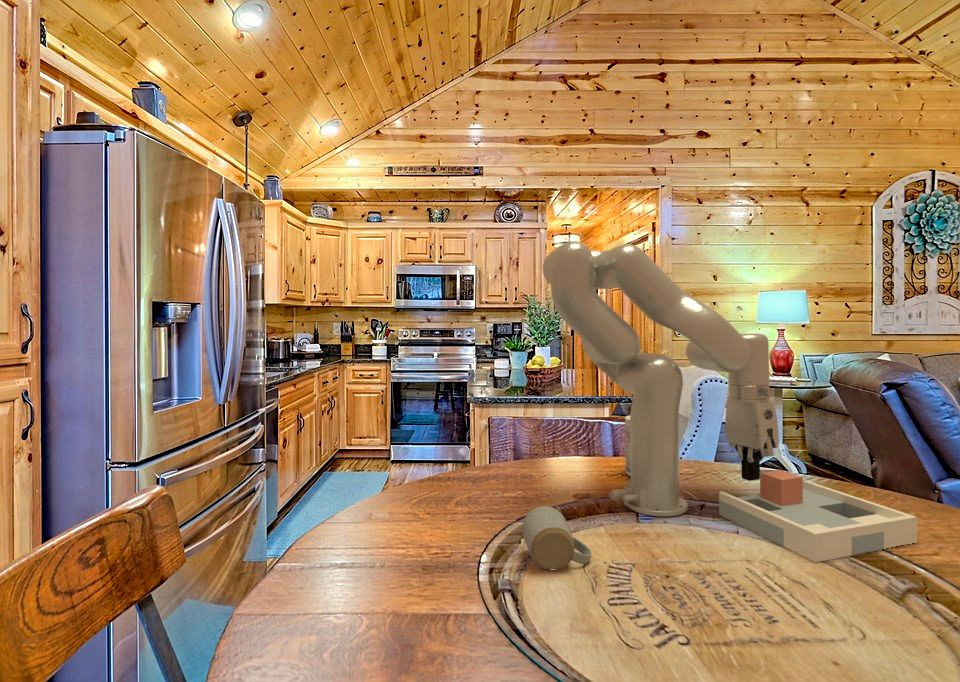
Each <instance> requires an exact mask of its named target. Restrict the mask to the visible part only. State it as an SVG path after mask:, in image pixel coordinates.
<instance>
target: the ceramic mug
mask: <svg viewBox="0 0 960 682" xmlns="http://www.w3.org/2000/svg"><path fill="white" fill-rule="evenodd" d="M523 519H524V520H523V522H522V527H521V532H522V536H523V539H524V542H525V544H526V547H527V550H528V553H529V555H530V558H531V559H532V560H533V562H534V563H535V564H536V565H537V566H539V567H540V568H542V569H543V568H544V570H546V569H558V570H560V568H561V569H563V568H564V567H566V566H567V565H569V563H570V562H571V561H573V562H574V563H577V564H581V565H587V564H589V562H590V560H591V558H592V556H593V555H592V551H591V550H590V549H591V548H589V547H588V546H587V545H586V544H585V543H584V542H583V541H581V540H579V539H578V538H576V537H574V536H573V534H572V532H571V530H570V527H569V526H568V522H567V519H566V518H565V516H564V515H563V514H562V513H561V512H560V511H559V510H558V509H556V508H555V507H552V506H548V505H547V506H544V505H541V506H538V507H535V508H533V509H532V510H530V511H529V512H528V513H527V515H526V516H525V518H523ZM576 550H577V551H576ZM586 563H587V564H586Z"/></svg>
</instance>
